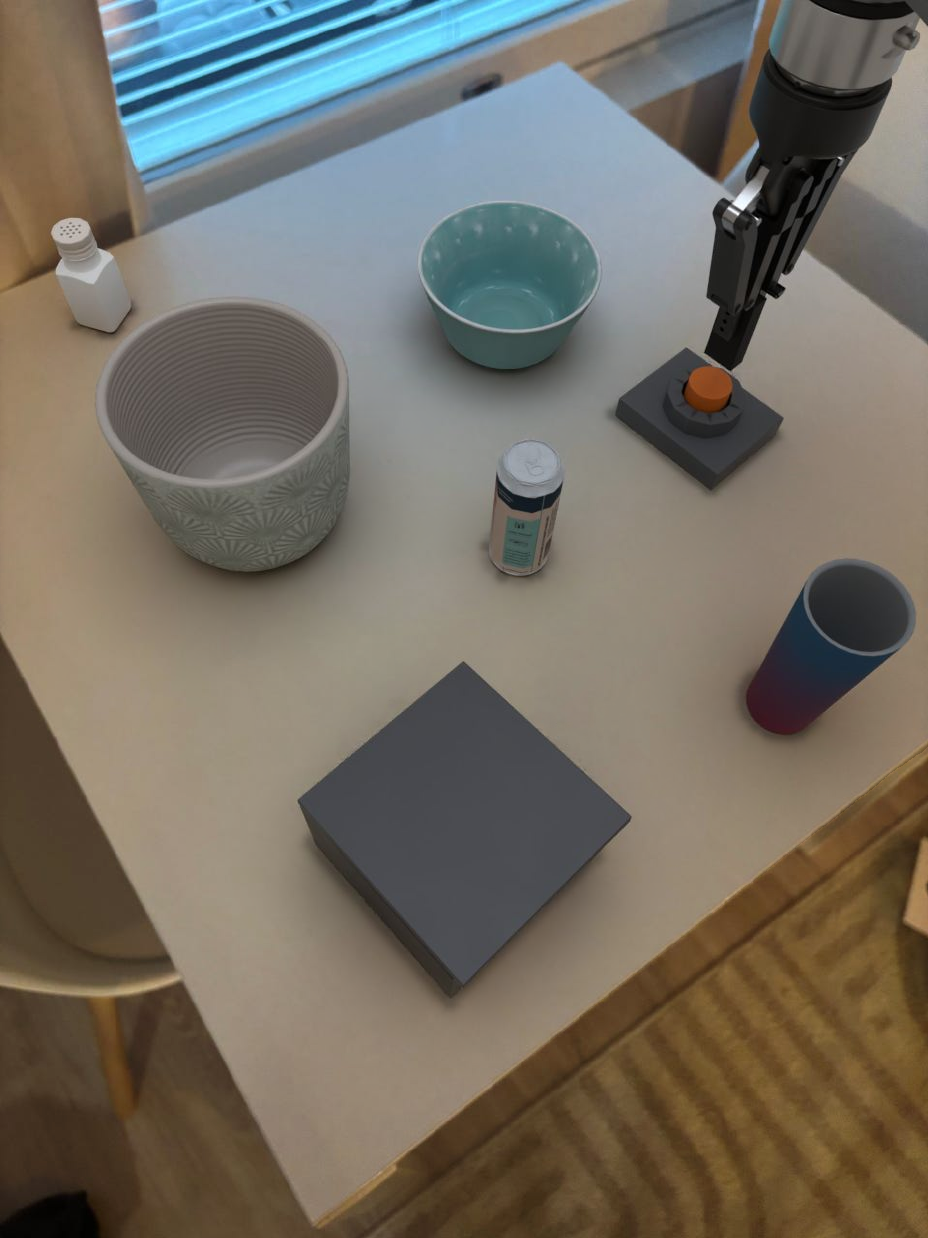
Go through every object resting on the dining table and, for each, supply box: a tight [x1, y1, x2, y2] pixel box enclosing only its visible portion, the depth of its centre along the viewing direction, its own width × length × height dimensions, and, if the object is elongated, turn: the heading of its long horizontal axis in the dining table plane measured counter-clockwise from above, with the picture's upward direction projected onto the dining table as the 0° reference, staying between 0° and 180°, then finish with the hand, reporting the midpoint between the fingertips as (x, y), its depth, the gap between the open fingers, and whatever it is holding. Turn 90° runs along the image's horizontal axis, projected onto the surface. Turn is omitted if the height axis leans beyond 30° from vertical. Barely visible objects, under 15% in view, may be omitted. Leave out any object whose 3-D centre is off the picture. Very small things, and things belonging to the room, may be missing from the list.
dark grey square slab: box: [297, 660, 633, 989], centre depth 56 cm, size 14×14×1 cm
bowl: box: [417, 200, 603, 370], centre depth 84 cm, size 16×16×8 cm
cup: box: [745, 557, 917, 736], centre depth 64 cm, size 7×7×15 cm
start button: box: [684, 366, 732, 413], centre depth 79 cm, size 4×4×2 cm
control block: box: [614, 346, 784, 491], centre depth 81 cm, size 11×9×4 cm
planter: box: [94, 296, 351, 572], centre depth 70 cm, size 17×17×15 cm
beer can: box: [488, 437, 566, 577], centre depth 71 cm, size 5×5×12 cm
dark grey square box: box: [299, 805, 462, 999], centre depth 61 cm, size 14×14×9 cm
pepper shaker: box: [50, 217, 132, 333], centre depth 83 cm, size 4×4×10 cm
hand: (723, 357), depth 75 cm, fingers closed
